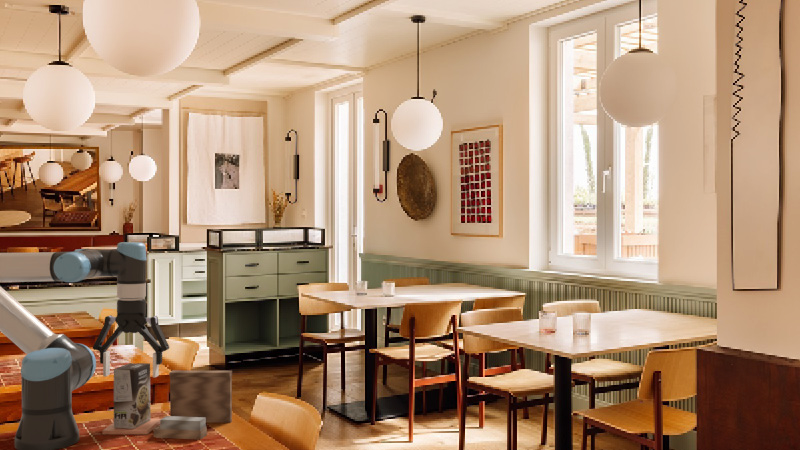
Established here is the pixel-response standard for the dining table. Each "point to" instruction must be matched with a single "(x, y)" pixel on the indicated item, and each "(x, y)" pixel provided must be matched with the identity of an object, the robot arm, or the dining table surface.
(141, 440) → the dining table surface
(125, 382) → the coffee box
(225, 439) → the dining table surface
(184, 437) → the offcut stack
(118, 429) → the terracotta tile
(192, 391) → the brown rectangular wooden panel
